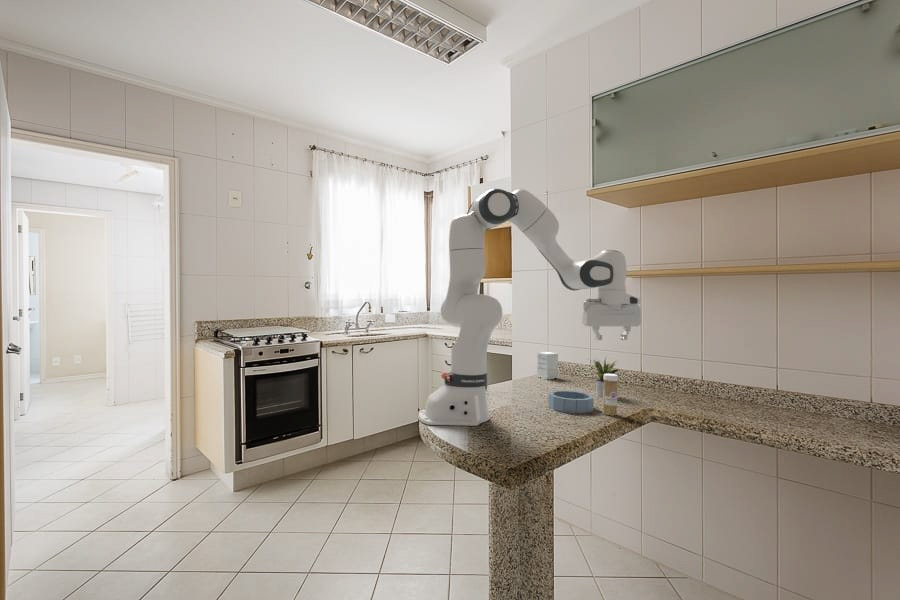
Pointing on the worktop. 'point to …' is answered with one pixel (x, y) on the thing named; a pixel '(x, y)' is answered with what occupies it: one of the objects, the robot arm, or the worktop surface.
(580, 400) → the bowl
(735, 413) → the worktop surface
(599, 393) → the house plant
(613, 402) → the sprinkles bottle
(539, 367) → the white canister
